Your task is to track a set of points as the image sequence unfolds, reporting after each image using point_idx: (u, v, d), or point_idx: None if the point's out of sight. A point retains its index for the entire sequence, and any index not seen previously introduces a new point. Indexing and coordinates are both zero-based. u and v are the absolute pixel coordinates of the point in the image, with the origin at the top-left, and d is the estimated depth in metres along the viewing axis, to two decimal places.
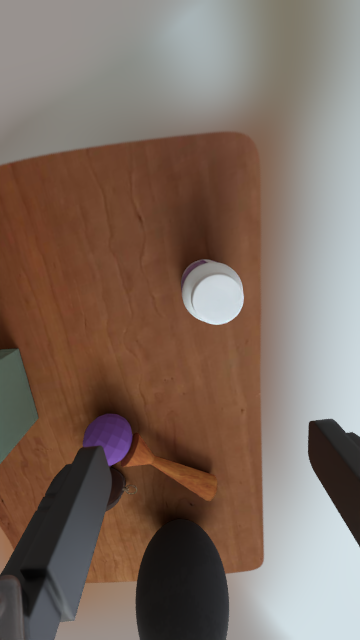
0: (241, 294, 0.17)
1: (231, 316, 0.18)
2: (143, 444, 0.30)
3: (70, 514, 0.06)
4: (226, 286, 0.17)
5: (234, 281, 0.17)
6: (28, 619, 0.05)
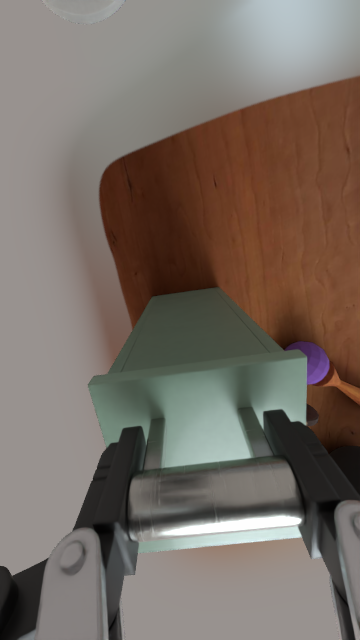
0: None
1: None
2: None
3: (127, 482, 0.07)
4: None
5: None
6: (104, 574, 0.05)
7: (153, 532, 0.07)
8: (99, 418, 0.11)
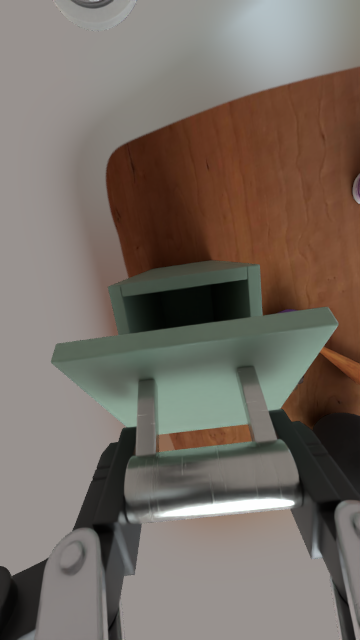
0: None
1: None
2: None
3: None
4: None
5: None
6: (104, 574, 0.05)
7: (154, 521, 0.07)
8: (77, 384, 0.09)
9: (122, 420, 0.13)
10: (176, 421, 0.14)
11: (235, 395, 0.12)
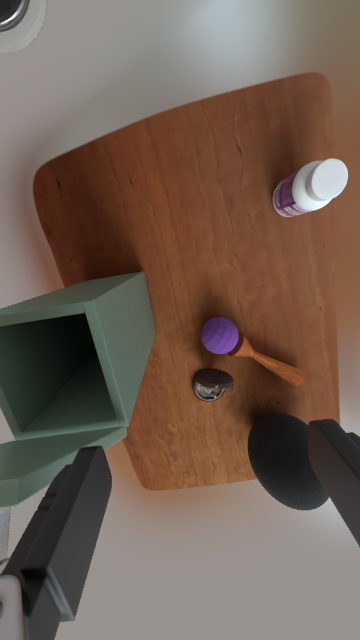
0: (346, 172, 0.25)
1: (339, 191, 0.26)
2: None
3: (70, 514, 0.06)
4: (336, 167, 0.25)
5: (341, 163, 0.25)
6: (28, 619, 0.05)
7: None
8: None
9: None
10: None
11: None
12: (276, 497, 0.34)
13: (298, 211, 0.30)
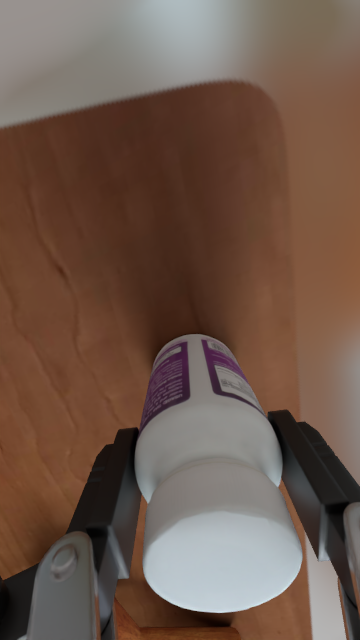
0: (295, 549, 0.06)
1: (266, 596, 0.06)
2: (119, 623, 0.19)
3: (121, 484, 0.07)
4: (246, 538, 0.05)
5: (271, 523, 0.05)
6: (97, 577, 0.05)
7: None
8: None
9: None
10: None
11: None
12: None
13: None
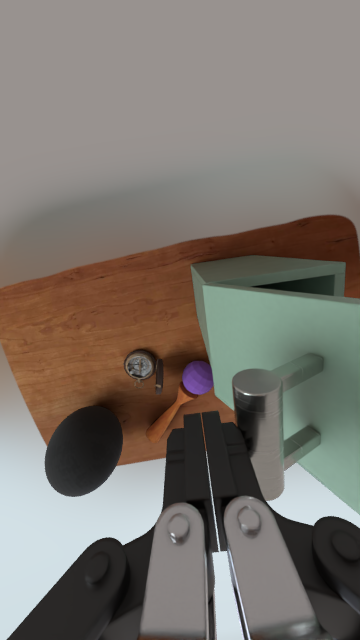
0: None
1: None
2: None
3: None
4: None
5: None
6: (206, 560, 0.05)
7: (240, 406, 0.08)
8: (335, 304, 0.09)
9: (240, 293, 0.13)
10: (229, 334, 0.16)
11: None
12: (57, 456, 0.35)
13: None
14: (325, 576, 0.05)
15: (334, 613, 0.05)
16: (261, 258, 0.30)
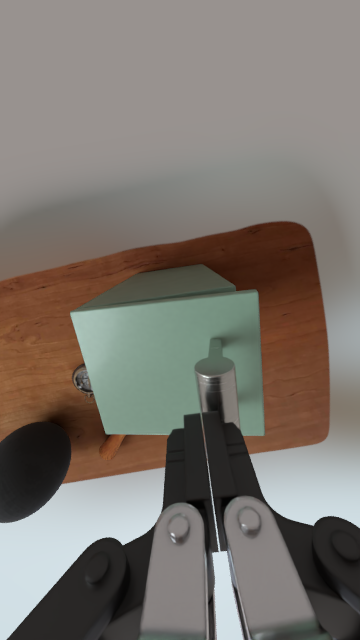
0: None
1: None
2: None
3: None
4: None
5: None
6: (206, 560, 0.05)
7: (217, 391, 0.10)
8: (223, 297, 0.13)
9: (132, 309, 0.14)
10: (121, 355, 0.15)
11: (179, 399, 0.15)
12: None
13: None
14: (325, 576, 0.05)
15: (334, 613, 0.05)
16: (195, 270, 0.28)
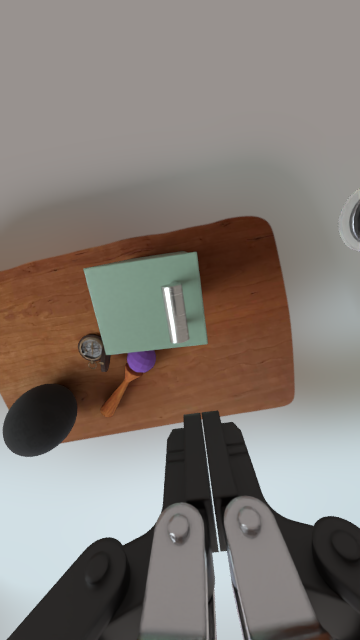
0: None
1: None
2: None
3: None
4: None
5: None
6: (206, 560, 0.05)
7: (172, 295, 0.19)
8: (178, 255, 0.22)
9: (124, 264, 0.23)
10: (117, 296, 0.24)
11: (154, 323, 0.24)
12: (11, 421, 0.41)
13: None
14: (325, 576, 0.05)
15: (334, 613, 0.05)
16: None
